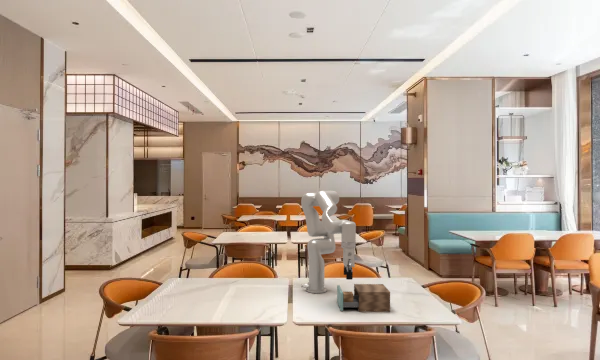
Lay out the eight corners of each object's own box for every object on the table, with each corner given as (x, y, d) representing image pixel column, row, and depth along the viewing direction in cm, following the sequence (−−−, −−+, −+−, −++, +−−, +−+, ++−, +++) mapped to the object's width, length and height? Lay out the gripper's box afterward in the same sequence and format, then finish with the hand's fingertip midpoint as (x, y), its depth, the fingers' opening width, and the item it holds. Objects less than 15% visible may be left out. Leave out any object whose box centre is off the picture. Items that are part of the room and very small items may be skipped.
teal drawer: (340, 310, 207) (340, 292, 207) (337, 301, 223) (337, 285, 223) (371, 310, 208) (371, 292, 208) (365, 301, 223) (365, 285, 223)
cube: (343, 303, 213) (343, 294, 213) (342, 300, 218) (342, 291, 218) (353, 303, 213) (353, 294, 213) (352, 300, 218) (352, 291, 218)
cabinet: (359, 311, 207) (359, 292, 207) (353, 302, 223) (354, 284, 223) (390, 311, 208) (390, 292, 208) (382, 302, 224) (382, 284, 224)
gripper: (358, 247, 207) (357, 281, 207) (352, 242, 224) (352, 273, 224) (343, 247, 207) (343, 281, 207) (339, 242, 224) (338, 273, 224)
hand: (347, 277), depth 216 cm, fingers open, 9 cm apart
